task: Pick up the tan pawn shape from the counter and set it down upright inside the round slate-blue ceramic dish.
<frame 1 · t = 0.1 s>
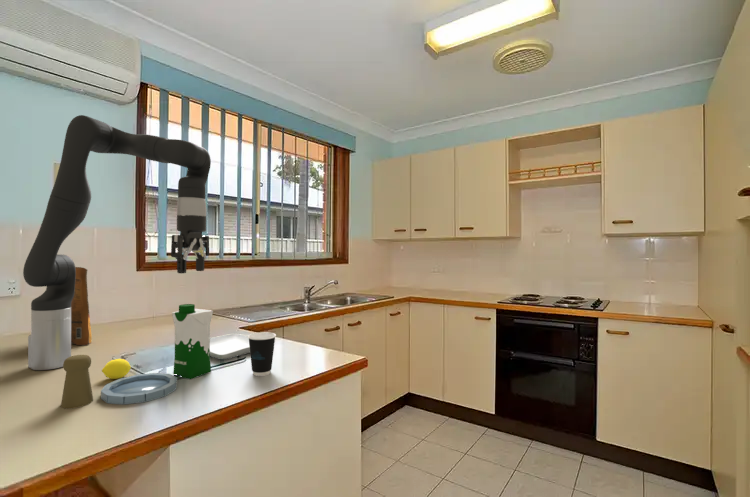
hand: (191, 272, 110), 29 cm above the counter, tool pointing down, fingers open, 8 cm apart
lemon: (116, 379, 106), on the counter
dixie cup: (261, 373, 112), on the counter
tan pawn shape: (77, 403, 90), on the counter
round dish: (140, 390, 98), on the counter
milk carton: (192, 374, 111), on the counter
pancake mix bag: (76, 342, 143), on the counter
salad plate: (228, 352, 135), on the counter
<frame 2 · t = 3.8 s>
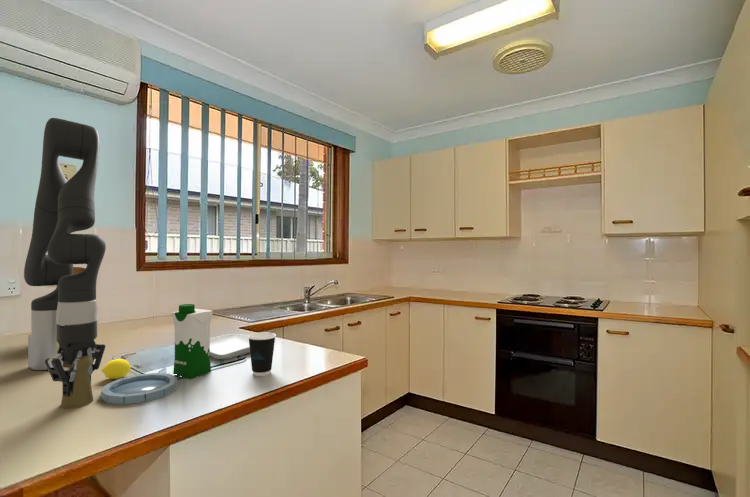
hand: (77, 393, 90), 2 cm above the counter, tool pointing down, fingers open, 3 cm apart
tan pawn shape: (77, 403, 90), on the counter, touching gripper
everything else where it was.
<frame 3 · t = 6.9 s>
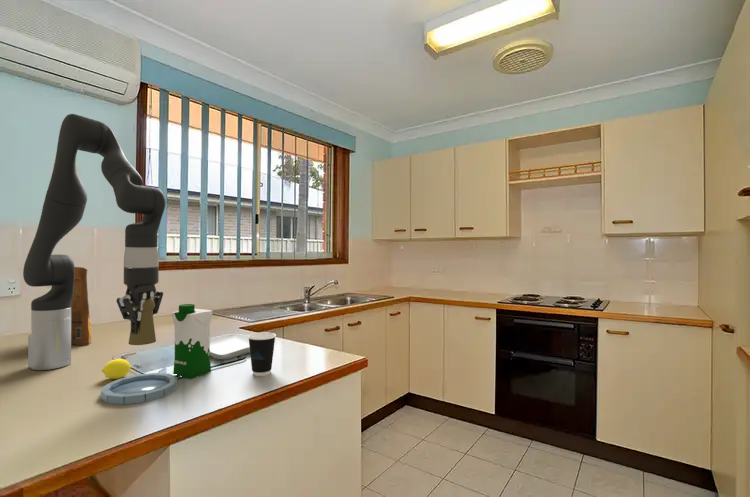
hand: (141, 333, 98), 14 cm above the counter, tool pointing down, fingers closed on tan pawn shape, 2 cm apart
tan pawn shape: (142, 342, 98), point 12 cm above the counter, touching gripper
everything else where it was.
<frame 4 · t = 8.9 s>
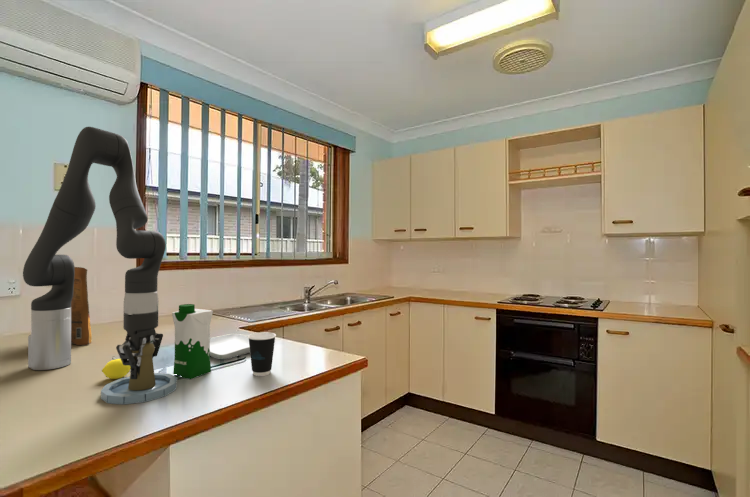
hand: (140, 377, 98), 3 cm above the counter, tool pointing down, fingers closed on tan pawn shape, 2 cm apart
tan pawn shape: (142, 386, 98), point 1 cm above the counter, touching gripper
everything else where it was.
when the fingers open (3 cm above the counter, at t = 10.0 s): tan pawn shape stays where it is, resting on round dish.
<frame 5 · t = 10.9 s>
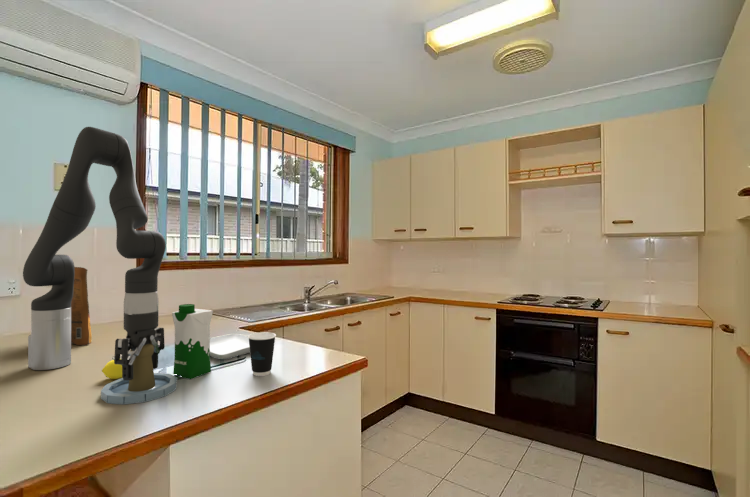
hand: (141, 373, 98), 4 cm above the counter, tool pointing down, fingers open, 8 cm apart
tan pawn shape: (141, 387, 98), point 1 cm above the counter, touching round dish
everything else where it was.
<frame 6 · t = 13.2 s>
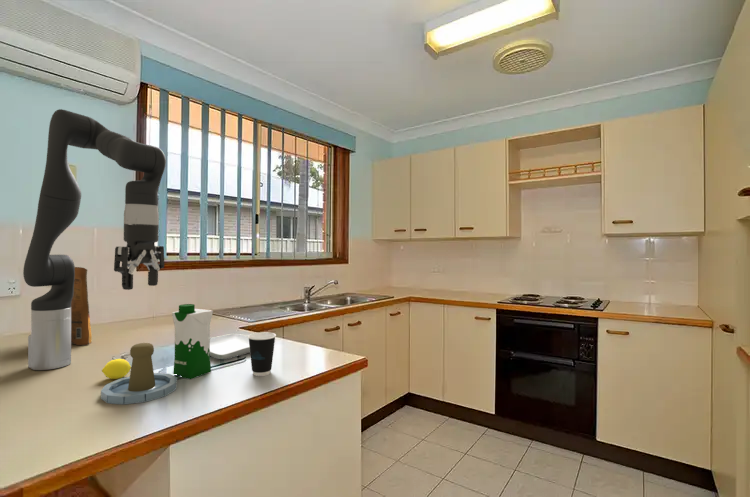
hand: (140, 287, 98), 26 cm above the counter, tool pointing down, fingers open, 8 cm apart
nothing on the counter moved.
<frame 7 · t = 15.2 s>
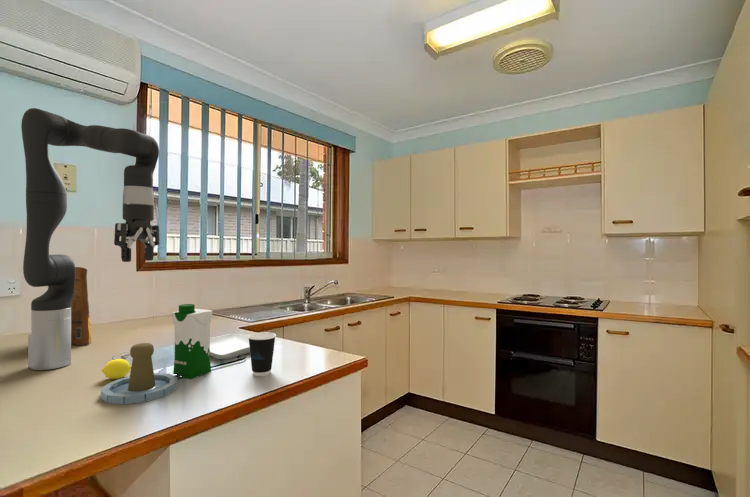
hand: (138, 261, 110), 32 cm above the counter, tool pointing down, fingers open, 8 cm apart
nothing on the counter moved.
at the end: tan pawn shape 0.5 cm from the round dish (horizontally); tan pawn shape tilted 0°; tan pawn shape point 0.6 cm above the counter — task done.
